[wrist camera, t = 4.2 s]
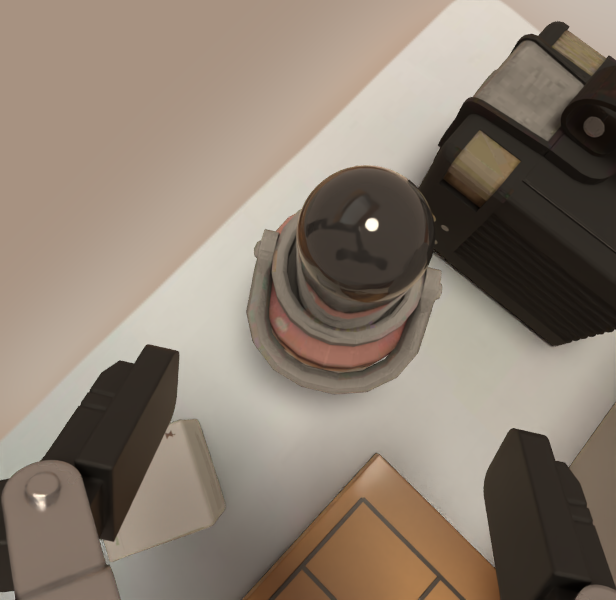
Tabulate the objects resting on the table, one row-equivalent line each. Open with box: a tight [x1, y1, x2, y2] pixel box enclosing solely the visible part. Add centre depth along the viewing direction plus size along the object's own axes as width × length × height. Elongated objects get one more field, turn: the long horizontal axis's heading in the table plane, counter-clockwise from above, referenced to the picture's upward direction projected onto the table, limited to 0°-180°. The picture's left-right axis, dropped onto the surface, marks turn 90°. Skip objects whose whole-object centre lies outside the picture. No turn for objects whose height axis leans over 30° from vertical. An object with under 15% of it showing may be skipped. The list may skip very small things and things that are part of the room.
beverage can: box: [246, 210, 442, 394], centre depth 29 cm, size 9×8×12 cm
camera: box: [418, 22, 616, 346], centre depth 30 cm, size 11×14×15 cm
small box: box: [104, 419, 226, 562], centre depth 31 cm, size 6×6×5 cm
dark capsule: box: [295, 165, 436, 330], centre depth 20 cm, size 4×4×8 cm
